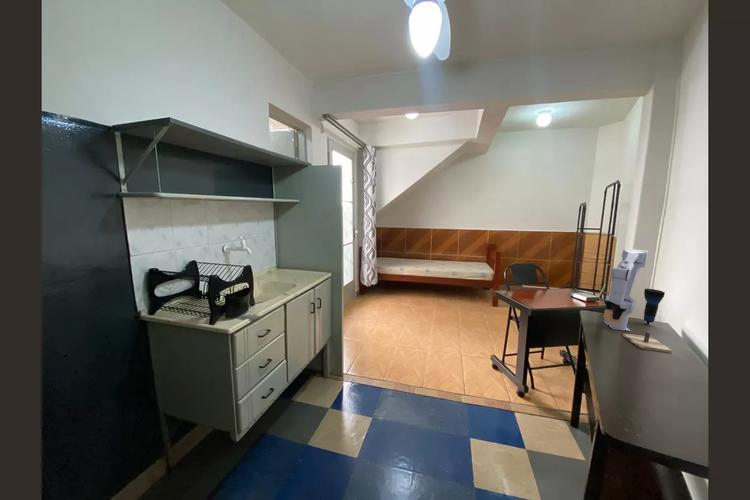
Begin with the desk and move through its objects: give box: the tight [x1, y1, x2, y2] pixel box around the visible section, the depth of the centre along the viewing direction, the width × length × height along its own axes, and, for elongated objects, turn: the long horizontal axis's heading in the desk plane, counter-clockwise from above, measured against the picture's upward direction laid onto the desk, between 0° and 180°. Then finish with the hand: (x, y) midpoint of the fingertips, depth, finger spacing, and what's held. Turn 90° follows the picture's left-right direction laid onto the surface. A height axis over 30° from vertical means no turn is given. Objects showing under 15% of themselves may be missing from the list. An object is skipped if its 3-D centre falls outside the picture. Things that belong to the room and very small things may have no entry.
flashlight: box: [643, 288, 665, 325], centre depth 156 cm, size 8×8×20 cm
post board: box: [622, 331, 673, 354], centre depth 133 cm, size 14×12×6 cm
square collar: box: [603, 309, 622, 323], centre depth 141 cm, size 5×5×5 cm
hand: (612, 317), depth 141 cm, fingers closed on square collar, 5 cm apart
